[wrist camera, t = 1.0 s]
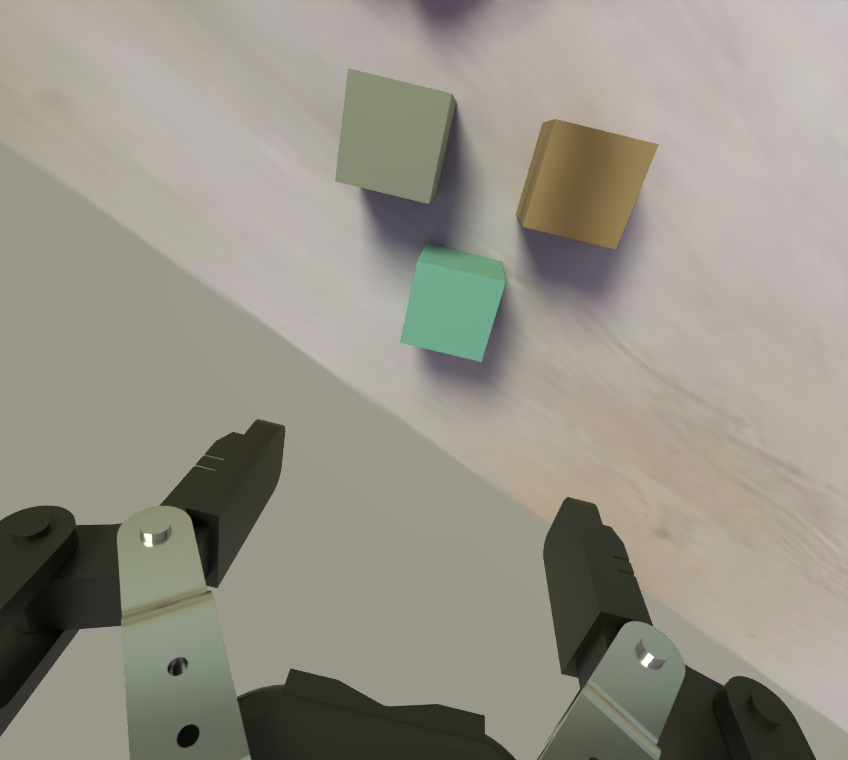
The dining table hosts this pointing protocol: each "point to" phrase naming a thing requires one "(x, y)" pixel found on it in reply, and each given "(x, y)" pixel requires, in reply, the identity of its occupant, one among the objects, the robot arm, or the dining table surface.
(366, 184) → the grey-green rectangular block
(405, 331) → the teal block
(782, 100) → the dining table surface
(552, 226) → the brass block
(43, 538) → the robot arm
